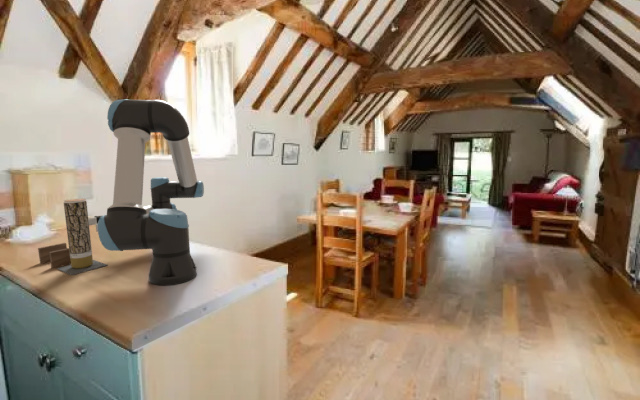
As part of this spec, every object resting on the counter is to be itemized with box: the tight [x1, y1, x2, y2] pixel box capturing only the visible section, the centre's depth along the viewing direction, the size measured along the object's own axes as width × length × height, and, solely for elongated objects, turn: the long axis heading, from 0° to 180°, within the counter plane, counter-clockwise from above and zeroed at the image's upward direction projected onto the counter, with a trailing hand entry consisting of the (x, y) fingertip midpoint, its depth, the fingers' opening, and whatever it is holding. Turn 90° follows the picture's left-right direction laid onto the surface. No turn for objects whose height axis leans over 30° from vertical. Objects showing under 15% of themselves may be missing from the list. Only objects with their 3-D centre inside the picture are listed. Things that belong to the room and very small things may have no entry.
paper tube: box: [63, 198, 94, 269], centre depth 129 cm, size 7×7×25 cm
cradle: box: [37, 242, 71, 269], centre depth 136 cm, size 11×9×6 cm
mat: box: [56, 259, 108, 276], centre depth 131 cm, size 12×12×1 cm
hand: (86, 225), depth 131 cm, fingers open, 13 cm apart
